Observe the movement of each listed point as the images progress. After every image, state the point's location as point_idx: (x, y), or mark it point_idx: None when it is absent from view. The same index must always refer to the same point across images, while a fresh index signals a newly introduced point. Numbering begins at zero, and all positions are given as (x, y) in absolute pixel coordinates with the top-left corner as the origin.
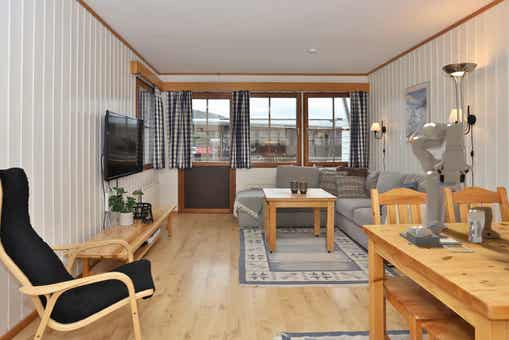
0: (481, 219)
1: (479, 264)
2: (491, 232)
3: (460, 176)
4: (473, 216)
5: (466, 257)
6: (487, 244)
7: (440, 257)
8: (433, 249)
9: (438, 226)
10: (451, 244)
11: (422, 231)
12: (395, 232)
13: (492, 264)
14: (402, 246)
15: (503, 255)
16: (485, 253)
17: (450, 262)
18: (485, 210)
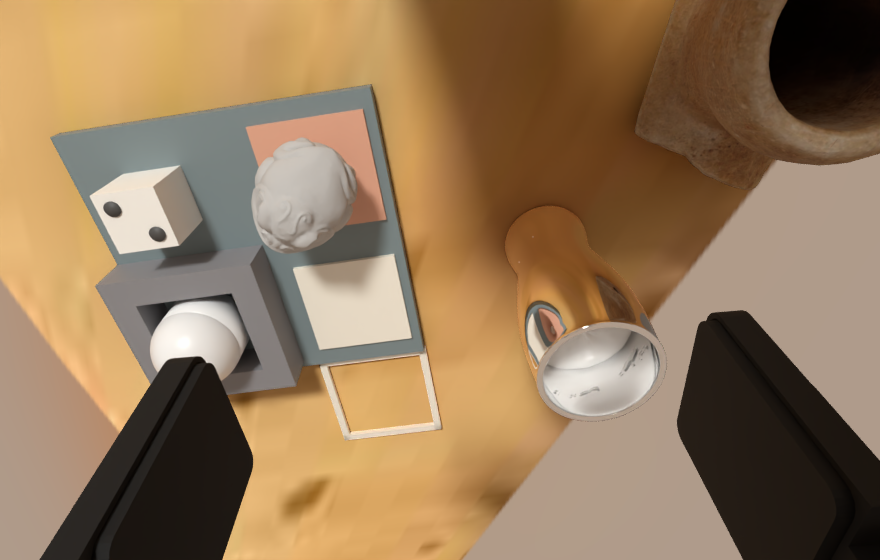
0: (592, 378)
1: (399, 538)
2: (713, 178)
3: (788, 475)
4: (543, 382)
5: (381, 486)
6: None
7: (279, 499)
8: (266, 414)
9: (312, 246)
10: (367, 355)
11: None
12: (14, 54)
13: (444, 533)
14: (119, 393)
15: (547, 446)
16: (484, 433)
17: (305, 536)
18: (818, 164)
